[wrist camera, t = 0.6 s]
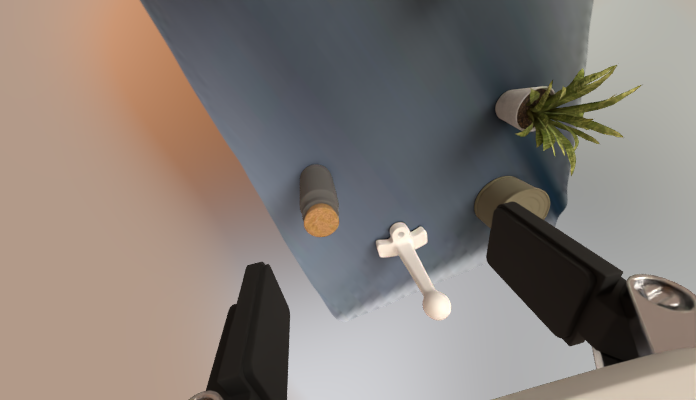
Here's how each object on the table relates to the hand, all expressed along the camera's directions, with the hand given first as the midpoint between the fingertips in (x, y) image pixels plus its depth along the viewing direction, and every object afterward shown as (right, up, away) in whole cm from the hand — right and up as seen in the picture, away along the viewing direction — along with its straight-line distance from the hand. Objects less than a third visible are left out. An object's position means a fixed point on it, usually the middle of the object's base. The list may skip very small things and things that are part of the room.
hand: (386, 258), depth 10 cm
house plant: (+29, +19, +36) cm, 50 cm away
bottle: (-8, +6, +36) cm, 38 cm away
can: (+32, +3, +46) cm, 56 cm away
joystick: (+10, -5, +46) cm, 47 cm away
